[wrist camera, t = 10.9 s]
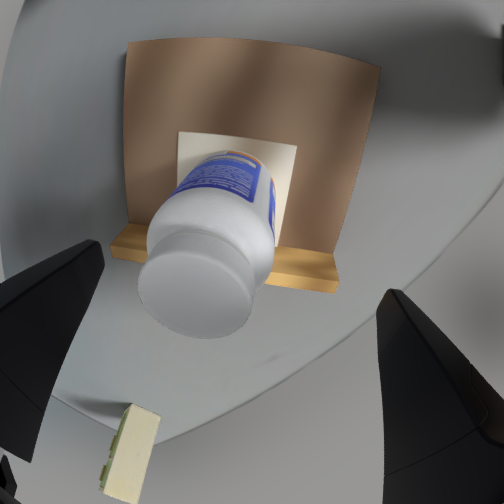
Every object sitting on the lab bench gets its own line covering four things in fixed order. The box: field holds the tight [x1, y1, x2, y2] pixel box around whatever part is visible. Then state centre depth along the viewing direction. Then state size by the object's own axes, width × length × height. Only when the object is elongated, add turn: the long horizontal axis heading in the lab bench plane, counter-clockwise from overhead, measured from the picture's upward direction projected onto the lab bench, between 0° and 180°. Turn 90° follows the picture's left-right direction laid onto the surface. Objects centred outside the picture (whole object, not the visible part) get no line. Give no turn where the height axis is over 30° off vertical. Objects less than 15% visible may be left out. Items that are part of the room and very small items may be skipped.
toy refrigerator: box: [99, 404, 161, 504], centre depth 38 cm, size 8×7×21 cm
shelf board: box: [110, 37, 381, 293], centre depth 15 cm, size 15×14×4 cm
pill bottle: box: [137, 150, 276, 339], centre depth 13 cm, size 5×5×10 cm
